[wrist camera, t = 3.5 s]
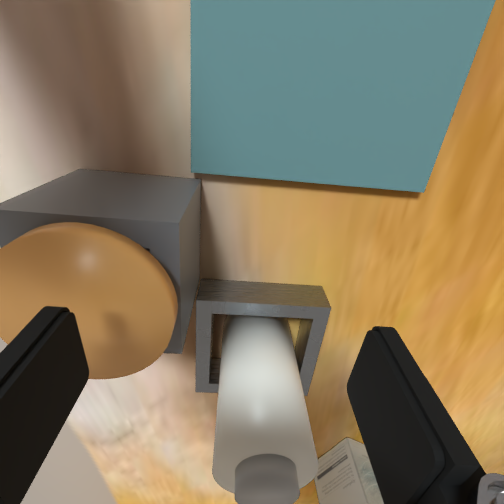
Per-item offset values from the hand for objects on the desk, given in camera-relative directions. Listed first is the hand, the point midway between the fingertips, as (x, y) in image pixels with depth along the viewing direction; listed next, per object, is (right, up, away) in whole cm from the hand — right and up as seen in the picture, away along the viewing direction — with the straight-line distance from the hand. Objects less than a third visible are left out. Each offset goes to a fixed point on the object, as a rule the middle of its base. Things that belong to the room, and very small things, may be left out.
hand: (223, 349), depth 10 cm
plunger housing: (-6, +5, +9) cm, 12 cm away
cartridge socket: (+1, -3, +14) cm, 14 cm away
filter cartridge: (+1, -3, +14) cm, 14 cm away
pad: (+5, +13, +5) cm, 15 cm away
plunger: (-6, +3, +6) cm, 9 cm away
